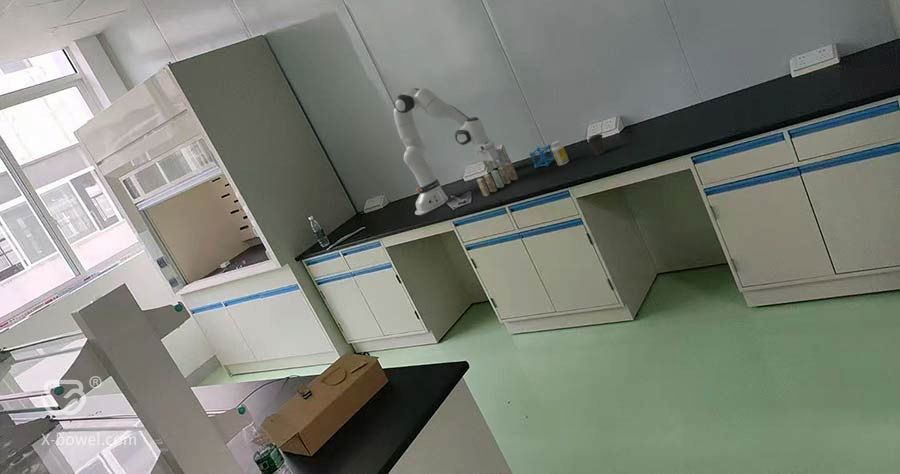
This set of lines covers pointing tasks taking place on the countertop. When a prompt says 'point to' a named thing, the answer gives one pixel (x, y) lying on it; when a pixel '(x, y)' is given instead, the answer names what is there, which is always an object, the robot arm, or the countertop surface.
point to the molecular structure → (542, 156)
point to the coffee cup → (597, 144)
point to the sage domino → (497, 178)
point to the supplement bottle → (559, 153)
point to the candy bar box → (502, 156)
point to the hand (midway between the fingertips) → (491, 167)
